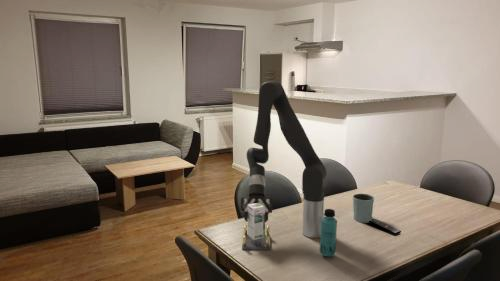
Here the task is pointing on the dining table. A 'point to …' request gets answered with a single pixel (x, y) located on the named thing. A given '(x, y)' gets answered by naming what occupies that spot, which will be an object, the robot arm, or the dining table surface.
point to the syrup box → (256, 220)
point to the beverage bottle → (328, 233)
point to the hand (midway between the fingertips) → (256, 221)
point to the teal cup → (363, 207)
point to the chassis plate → (256, 241)
